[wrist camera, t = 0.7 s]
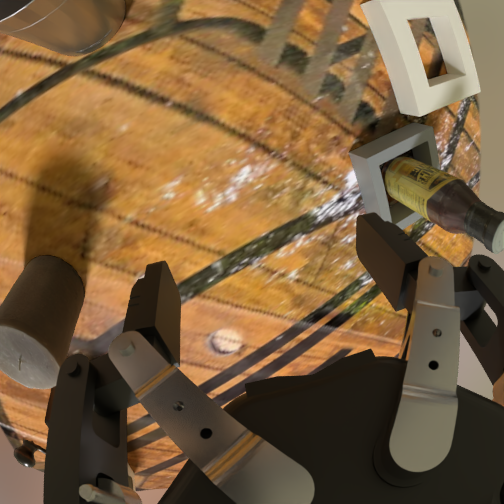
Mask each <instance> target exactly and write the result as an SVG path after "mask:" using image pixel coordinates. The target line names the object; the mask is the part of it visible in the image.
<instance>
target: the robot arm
mask: <svg viewBox="0 0 504 504" xmlns="http://www.w3.org/2000/svg"><path fill="white" fill-rule="evenodd" d="M125 11H126V4H125V0H0V33H3V34H6V35H10V36H13V37H16V38H19V39H22V40H25V41H28V42H31V43H34V44H36V45H39V46H42V47H45V48H47V49H50V50H52V51H55V52H58V53H60V54H64V55H67V56H79V55H85V54H88V53H90V52H93V51H95V50H97V49H98V48H100V47H102V46H103V45H104V44H106V43H107V42H108V41H109V40H110V39H111V38H112V37H113V36H114V35H115V34H116V32H117V31H118V29H119V28H120V26H121V24H122V22H123V20H124V16H125ZM356 251H357V255H358V258H359V260H360V261H361V263H362V264H363V265H364V267H365V268H366V270H367V271H368V272H369V274H370V275H371V276H372V278H373V279H374V281H375V282H376V284H377V285H378V286H379V288H380V289H381V291H382V292H383V294H384V295H385V296H386V298H387V299H388V301H389V302H390V304H391V305H392V307H393V308H394V310H395V311H399V310H402V309H404V308H406V309H407V311H408V313H407V317H406V322H405V328H404V334H403V339H402V344H401V349H400V353H399V357H398V358H394V357H387V356H378V357H375V355H374V353H373V351H372V350H371V349H368V350H365V351H362V352H359V353H356V354H353V355H350V356H347V357H344V358H342V359H340V360H338V361H336V362H335V363H333V364H331V365H330V366H328V367H326V368H324V369H323V370H321V371H319V372H317V373H315V374H313V375H303V376H277V377H273V378H269V379H264V380H260V381H255V382H251V383H246V384H245V388H246V393H245V394H243V395H241V396H239V397H237V398H236V399H234V400H233V401H231V402H230V403H229V404H227V405H226V406H225V407H224V408H223V409H222V408H221V407H220V406H219V405H217V404H216V403H215V402H214V401H213V400H212V399H211V398H209V397H208V396H207V395H206V394H205V393H204V392H203V391H202V390H200V389H199V388H198V387H197V386H196V385H195V384H194V383H193V382H192V381H191V380H190V379H188V378H187V377H186V376H185V375H184V374H183V373H182V372H181V371H180V370H179V369H178V368H177V367H180V318H181V299H180V294H179V291H178V288H177V286H176V283H175V281H174V279H173V276H172V274H171V272H170V269H169V267H168V264H167V263H166V261H160V262H156V263H152V264H148V265H147V267H146V271H145V276H144V278H142V279H138V280H137V282H136V283H135V285H134V286H133V288H132V290H131V295H130V300H129V303H128V308H127V313H126V317H125V322H124V327H123V333H122V334H120V335H119V336H117V337H116V338H115V339H114V340H113V341H112V342H111V344H110V346H109V349H108V353H107V354H105V355H103V356H100V357H98V358H96V359H94V360H91V361H90V360H89V359H88V358H87V357H86V356H85V355H83V354H75V355H72V356H70V357H69V358H67V359H66V360H65V361H64V362H63V364H62V365H61V367H60V370H59V373H58V378H57V383H56V388H55V393H54V398H53V404H52V410H51V416H50V423H49V430H48V438H47V447H46V458H45V471H44V504H142V501H141V499H140V497H139V495H138V494H137V493H136V492H135V491H134V490H132V489H131V488H129V482H128V462H127V408H128V407H131V406H133V405H135V404H138V403H141V404H142V405H143V406H144V408H145V409H146V410H147V411H148V413H149V414H150V415H151V416H152V417H153V419H154V420H155V421H156V422H157V423H158V425H159V426H160V427H161V428H162V429H163V430H164V432H165V433H166V434H167V435H168V436H169V437H170V438H171V439H172V440H173V442H174V443H175V444H176V445H177V446H178V447H179V448H180V449H181V450H182V451H183V452H184V453H185V454H186V455H187V456H188V457H189V459H188V461H187V462H186V464H185V465H184V466H183V468H182V469H181V471H180V472H179V474H178V475H177V477H176V478H175V480H174V481H173V482H172V484H171V485H170V487H169V488H168V490H167V491H166V492H165V494H164V495H163V497H162V498H161V500H160V501H159V502H158V504H504V271H503V270H502V268H501V267H500V266H499V265H498V264H497V263H496V262H495V261H494V260H493V259H491V258H489V257H487V256H484V255H474V256H472V257H471V258H470V259H469V262H468V266H467V267H452V266H451V264H450V263H449V262H447V261H446V260H444V259H442V258H440V257H434V256H430V257H429V256H428V255H427V254H426V253H425V252H424V251H423V250H422V249H421V248H420V247H419V246H418V245H417V244H416V243H415V242H414V241H413V240H412V239H410V237H409V236H408V235H407V234H405V232H404V231H403V230H402V229H401V228H399V227H398V226H397V225H395V224H393V223H391V222H389V221H384V220H383V219H382V218H381V217H380V216H379V215H378V214H377V213H375V212H372V213H368V214H363V215H359V216H358V217H357V222H356ZM486 303H488V305H489V306H490V307H491V309H492V310H493V311H494V313H495V314H496V316H497V319H498V325H497V327H496V325H495V324H494V322H493V321H492V320H491V318H490V317H489V316H488V314H487V313H486V312H485V310H484V307H485V305H486ZM460 331H461V332H462V334H463V335H464V337H465V339H466V340H467V342H468V343H469V345H470V346H471V348H472V350H473V352H474V353H475V355H476V356H477V358H478V360H479V362H480V363H481V365H482V367H483V368H484V370H485V372H486V373H487V375H488V377H489V379H490V381H491V383H492V385H493V397H494V398H493V400H490V399H488V398H485V397H483V396H481V395H479V394H476V393H474V392H472V391H470V390H468V389H465V388H463V387H461V386H459V385H457V377H458V365H459V346H460Z"/></svg>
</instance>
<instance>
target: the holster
mask: <svg viewBox="0 0 504 504" xmlns="http://www.w3.org/2000/svg"><path fill="white" fill-rule="evenodd" d="M410 149H412V152H413V157H414V159H415V160H417V161H420V162H422V163H425V164H427V165H430V166H432V167H434V168H437V169H439V170H440V165H439V158H438V152H437V146H436V141H435V136H434V131H433V127H432V126H427V125H423V124H418V123H414V122H413V123H411V124H409V125H406V126H404V127H402V128H400V129H397V130H395V131H393V132H391V133H389V134H387V135H384V136H382V137H380V138H378V139H376V140H374V141H371V142H369V143H367V144H365V145H363V146H361V147H359V148H357V149H355V150H353V151H350V152H349V155H350V158H351V161H352V165H353V168H354V171H355V174H356V178H357V181H358V184H359V188H360V191H361V195H362V198H363V202H364V206H365V210H366V213H367V214H368V213H372V212H375V213H377V214H378V215H379V216H380V217H381V218H382V219H383V220H384V221H389V222H391V223H393V224H395V225H397V226H398V227H399V228H401V229H402V230H403V229H404V228H406V227H407V226H409V225H411V224H412V223H414V222H415V221H417V220H418V219H420V218H421V217H423V216H422V215H420V214H418V213H417V212H415V211H414V210H412V209H410V208H409V207H407V206H406V205H404V204H402V203H401V202H397V203H396V204H394V205H392V206H391V207H389V205H388V201H387V196H386V192H385V187H384V183H383V179H382V175H381V171H380V167H379V165H381V164H383V163H385V162H387V161H389V160H391V159H393V158H395V157H397V156H398V155H400V154H402V153H404V152H406V151H408V150H410Z"/></svg>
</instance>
